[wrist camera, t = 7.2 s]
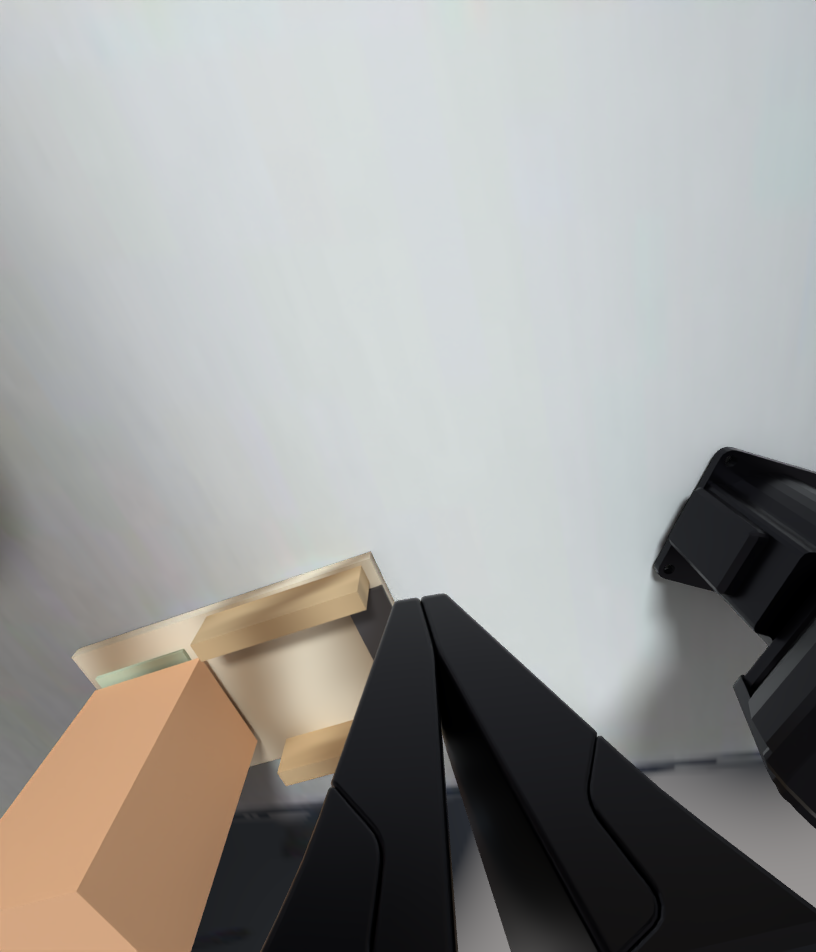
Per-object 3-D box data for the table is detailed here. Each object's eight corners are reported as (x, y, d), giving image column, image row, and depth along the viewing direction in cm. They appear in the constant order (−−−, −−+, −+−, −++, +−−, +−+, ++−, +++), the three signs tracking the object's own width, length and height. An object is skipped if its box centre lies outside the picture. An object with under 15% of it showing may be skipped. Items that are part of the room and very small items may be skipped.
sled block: (200, 657, 25) (76, 891, 15) (257, 740, 27) (178, 990, 18) (95, 690, 26) (-83, 931, 16) (158, 769, 28) (33, 1021, 18)
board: (370, 551, 24) (366, 584, 21) (442, 703, 27) (445, 745, 25) (78, 648, 26) (44, 688, 23) (180, 777, 29) (160, 823, 27)
